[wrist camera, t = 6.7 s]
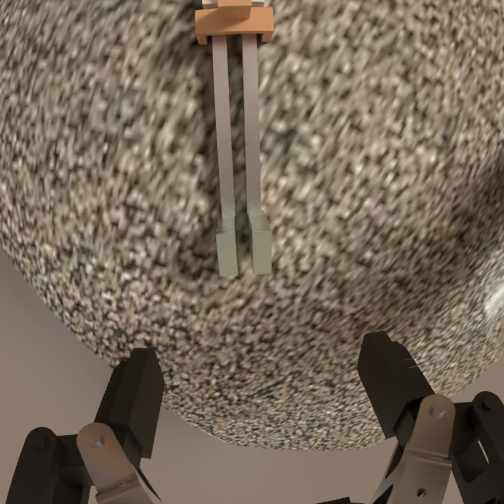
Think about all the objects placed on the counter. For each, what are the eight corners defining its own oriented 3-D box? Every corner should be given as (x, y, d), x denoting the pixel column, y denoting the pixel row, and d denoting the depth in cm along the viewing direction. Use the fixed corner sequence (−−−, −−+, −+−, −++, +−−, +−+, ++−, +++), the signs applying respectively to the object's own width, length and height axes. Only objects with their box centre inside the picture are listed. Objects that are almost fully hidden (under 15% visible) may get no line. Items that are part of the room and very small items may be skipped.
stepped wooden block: (199, 23, 17) (190, -4, 12) (267, 20, 17) (277, -7, 12) (199, 45, 18) (190, 22, 13) (269, 42, 18) (279, 19, 13)
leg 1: (208, 17, 17) (203, -9, 12) (225, 16, 17) (224, -11, 12) (221, 247, 24) (219, 276, 20) (237, 246, 24) (239, 275, 20)
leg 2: (241, 15, 17) (243, -12, 12) (258, 15, 17) (265, -11, 12) (247, 246, 24) (252, 274, 20) (263, 245, 24) (271, 273, 20)
